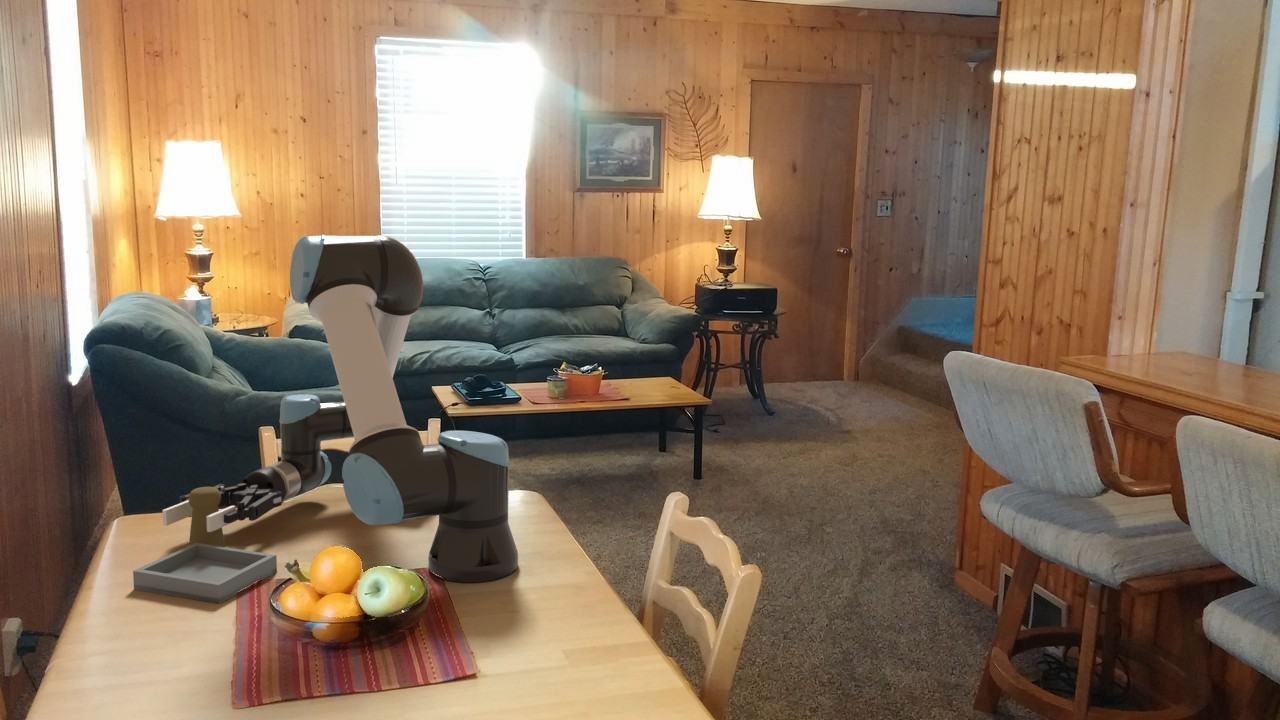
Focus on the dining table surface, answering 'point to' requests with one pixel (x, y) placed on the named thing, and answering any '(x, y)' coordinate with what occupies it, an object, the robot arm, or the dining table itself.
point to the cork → (204, 516)
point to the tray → (205, 572)
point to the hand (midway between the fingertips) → (186, 521)
